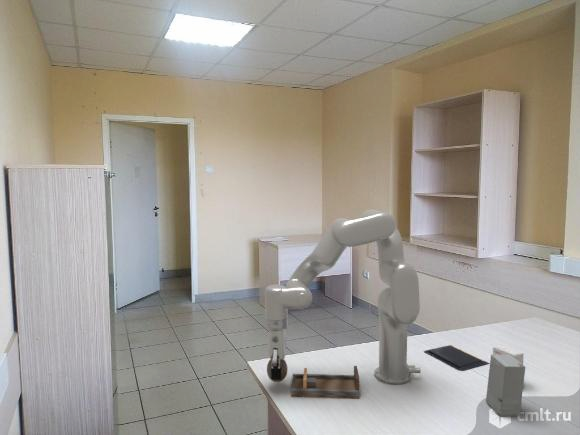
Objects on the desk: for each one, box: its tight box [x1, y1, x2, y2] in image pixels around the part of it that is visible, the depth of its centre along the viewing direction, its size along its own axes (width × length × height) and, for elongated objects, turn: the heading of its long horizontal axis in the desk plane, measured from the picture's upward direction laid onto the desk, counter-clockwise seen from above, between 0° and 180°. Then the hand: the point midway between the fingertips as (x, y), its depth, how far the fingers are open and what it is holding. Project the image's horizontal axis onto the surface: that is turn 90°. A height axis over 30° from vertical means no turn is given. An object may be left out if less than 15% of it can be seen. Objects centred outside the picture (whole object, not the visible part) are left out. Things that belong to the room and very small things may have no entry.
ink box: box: [492, 344, 524, 365], centre depth 147 cm, size 9×5×12 cm, turn 26°
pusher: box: [303, 367, 316, 389], centre depth 145 cm, size 4×9×4 cm, turn 176°
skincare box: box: [485, 353, 526, 417], centre depth 130 cm, size 8×7×16 cm
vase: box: [266, 357, 288, 383], centre depth 145 cm, size 7×7×9 cm
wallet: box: [423, 344, 490, 372], centre depth 168 cm, size 20×2×15 cm
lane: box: [290, 365, 361, 400], centre depth 144 cm, size 22×12×6 cm, turn 86°
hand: (277, 373), depth 145 cm, fingers closed on vase, 6 cm apart
